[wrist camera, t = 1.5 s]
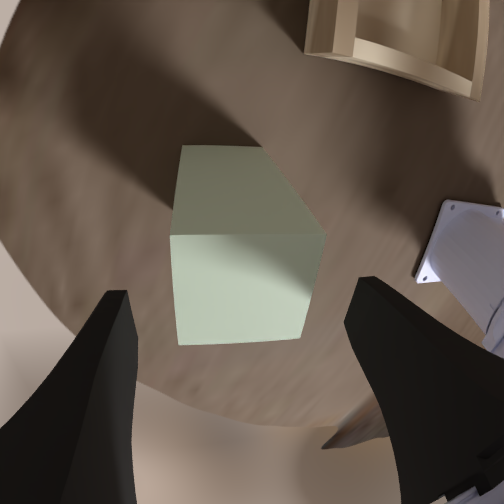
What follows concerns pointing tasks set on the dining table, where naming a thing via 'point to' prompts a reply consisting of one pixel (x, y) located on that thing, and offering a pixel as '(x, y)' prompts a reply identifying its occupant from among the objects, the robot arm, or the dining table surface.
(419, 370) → the robot arm
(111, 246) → the dining table surface
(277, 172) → the sage block
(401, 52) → the open beige box
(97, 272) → the dining table surface
